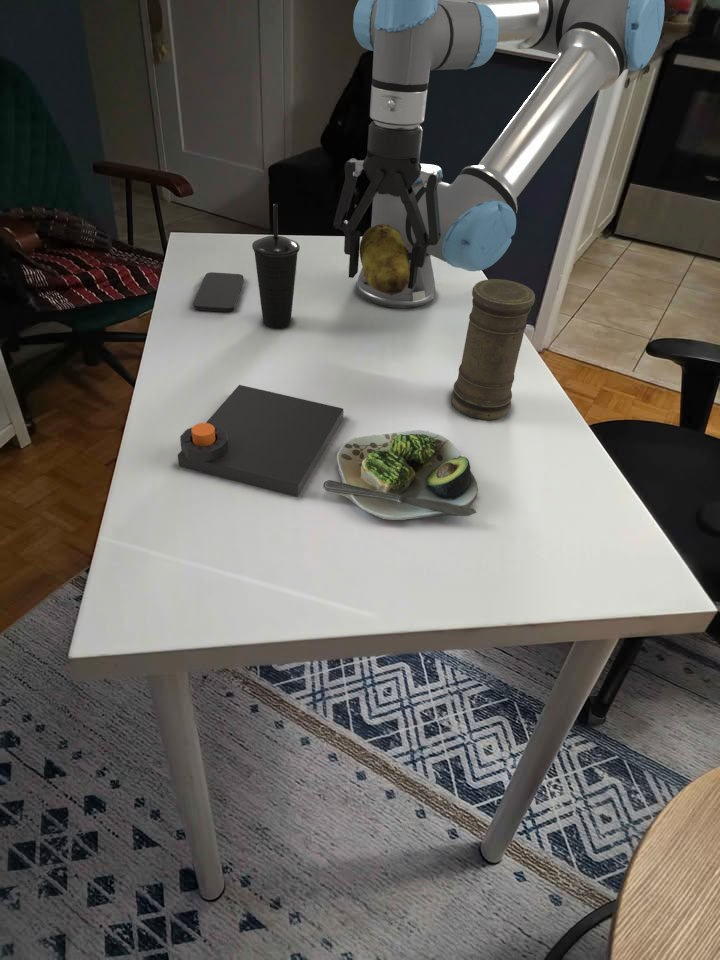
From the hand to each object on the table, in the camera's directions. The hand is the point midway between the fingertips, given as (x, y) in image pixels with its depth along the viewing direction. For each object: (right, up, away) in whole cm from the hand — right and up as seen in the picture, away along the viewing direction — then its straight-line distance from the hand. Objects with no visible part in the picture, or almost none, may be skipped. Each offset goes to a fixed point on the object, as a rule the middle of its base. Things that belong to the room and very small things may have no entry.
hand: (382, 279), depth 104 cm
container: (+15, -21, -5) cm, 26 cm away
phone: (-30, +3, +17) cm, 35 cm away
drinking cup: (-18, -5, +10) cm, 21 cm away
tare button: (-23, -27, -23) cm, 42 cm away
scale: (-16, -27, -17) cm, 36 cm away
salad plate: (+3, -32, -21) cm, 39 cm away
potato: (0, -1, 0) cm, 1 cm away
